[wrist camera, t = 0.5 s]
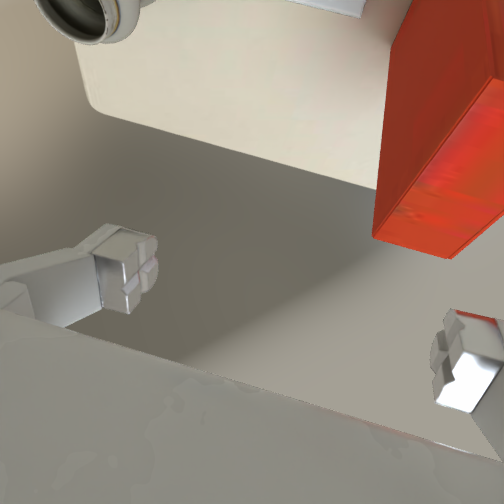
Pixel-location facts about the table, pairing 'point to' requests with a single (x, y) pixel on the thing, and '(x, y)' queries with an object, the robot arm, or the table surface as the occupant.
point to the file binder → (443, 128)
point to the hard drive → (336, 6)
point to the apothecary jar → (92, 18)
